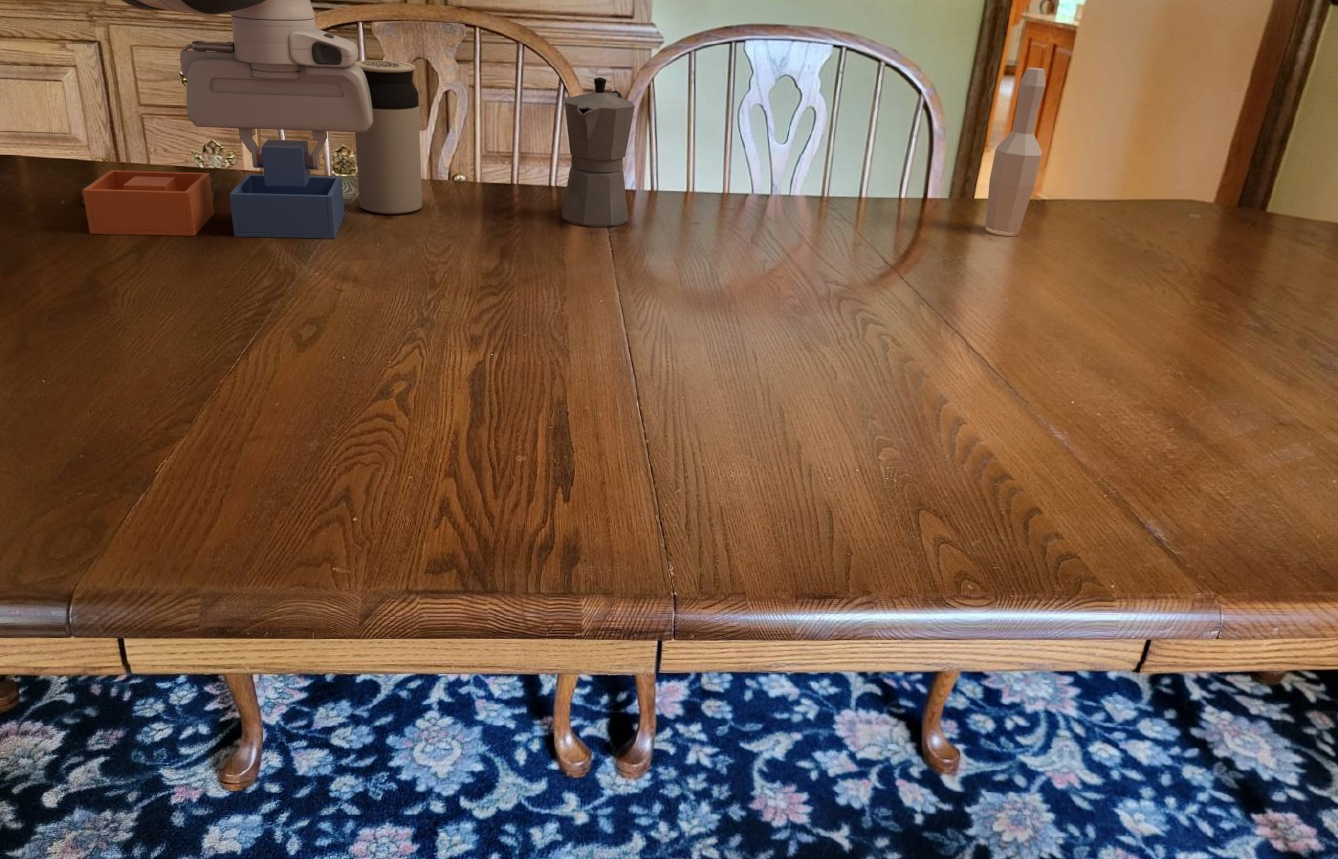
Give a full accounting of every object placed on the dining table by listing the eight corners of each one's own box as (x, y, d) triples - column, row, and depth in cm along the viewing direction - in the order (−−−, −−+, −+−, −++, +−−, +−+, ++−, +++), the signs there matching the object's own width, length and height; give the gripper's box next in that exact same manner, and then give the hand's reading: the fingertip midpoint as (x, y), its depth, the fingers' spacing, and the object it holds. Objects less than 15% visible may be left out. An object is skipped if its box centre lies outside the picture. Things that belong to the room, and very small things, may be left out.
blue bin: (234, 236, 122) (229, 193, 120) (250, 214, 131) (246, 174, 129) (334, 238, 124) (331, 196, 122) (344, 216, 133) (341, 176, 131)
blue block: (265, 186, 123) (261, 146, 121) (271, 177, 127) (267, 139, 125) (305, 186, 124) (302, 148, 122) (310, 178, 128) (307, 140, 126)
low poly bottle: (1030, 239, 146) (1067, 73, 136) (984, 236, 146) (1018, 69, 136) (1018, 227, 151) (1052, 67, 142) (974, 224, 151) (1005, 64, 142)
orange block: (129, 223, 122) (123, 184, 120) (140, 213, 126) (134, 176, 124) (170, 224, 123) (165, 186, 121) (180, 214, 127) (175, 177, 125)
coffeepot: (614, 234, 133) (620, 87, 126) (544, 225, 135) (546, 79, 128) (646, 208, 147) (654, 74, 139) (582, 200, 149) (586, 67, 141)
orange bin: (89, 233, 119) (82, 189, 117) (117, 211, 128) (110, 170, 126) (194, 236, 121) (189, 192, 119) (214, 213, 130) (209, 172, 128)
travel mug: (367, 217, 133) (359, 68, 126) (353, 202, 140) (344, 59, 132) (429, 213, 137) (425, 68, 129) (413, 199, 143) (407, 60, 135)
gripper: (170, 42, 114) (187, 171, 120) (365, 51, 117) (372, 176, 123) (184, 36, 119) (200, 159, 125) (370, 45, 123) (377, 164, 129)
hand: (287, 167), depth 124 cm, fingers closed on blue block, 4 cm apart
